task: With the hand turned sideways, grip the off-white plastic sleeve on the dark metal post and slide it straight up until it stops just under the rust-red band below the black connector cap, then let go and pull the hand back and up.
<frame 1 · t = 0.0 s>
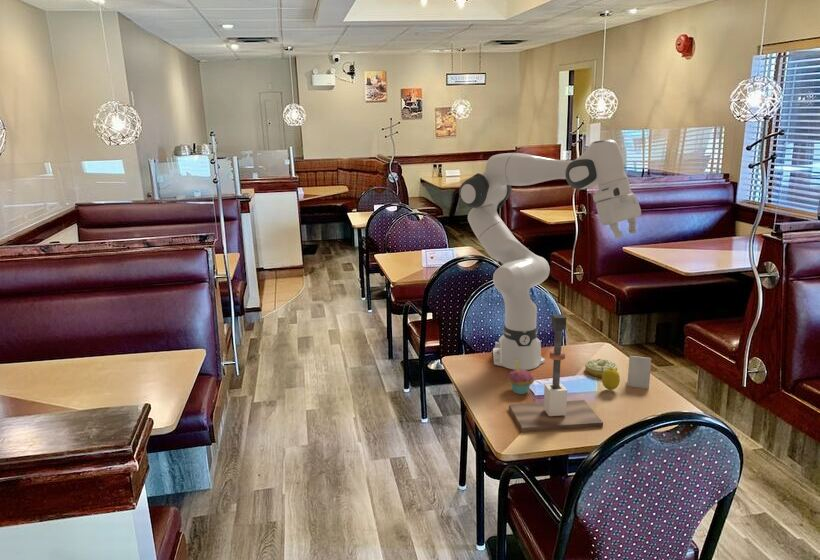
hand: (626, 235, 193), 52 cm above the table, tool tilted 20°, fingers open, 8 cm apart
sleeve: (555, 399, 189), point 6 cm above the table, slide at 0.0 cm
post stand: (554, 417, 190), on the table
grey rectangular block: (638, 385, 212), on the table
lemon: (609, 391, 208), on the table
cupcake: (520, 391, 209), on the table
decorated donut: (600, 373, 223), on the table
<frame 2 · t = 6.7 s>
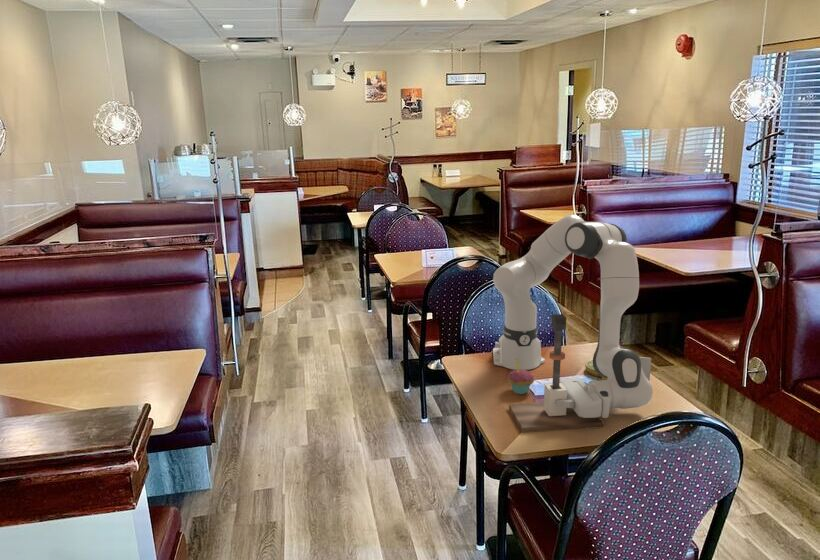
hand: (552, 398, 188), 7 cm above the table, tool horizontal, fingers closed on sleeve, 5 cm apart
sleeve: (555, 399, 189), point 6 cm above the table, slide at 0.0 cm, touching gripper
everything else where it was.
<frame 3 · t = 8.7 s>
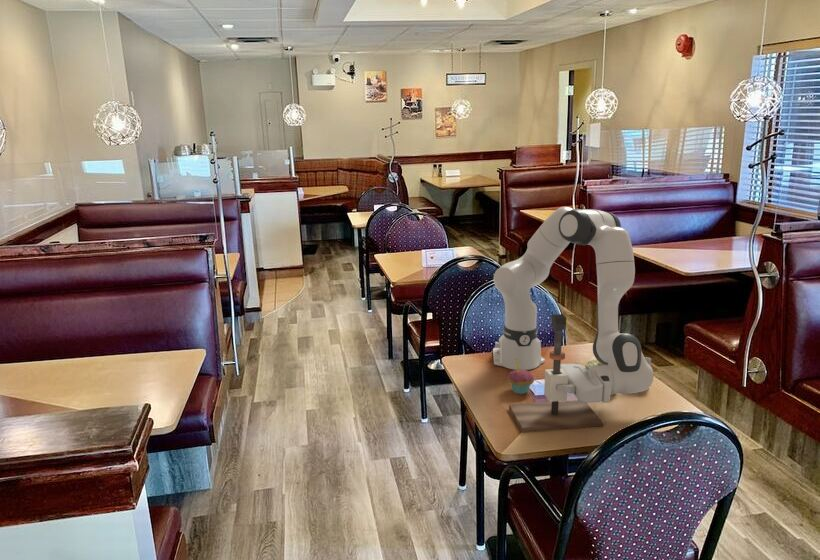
hand: (552, 383, 187), 11 cm above the table, tool horizontal, fingers closed on sleeve, 5 cm apart
sleeve: (555, 384, 187), point 11 cm above the table, slide at 4.7 cm, touching gripper
everything else where it was.
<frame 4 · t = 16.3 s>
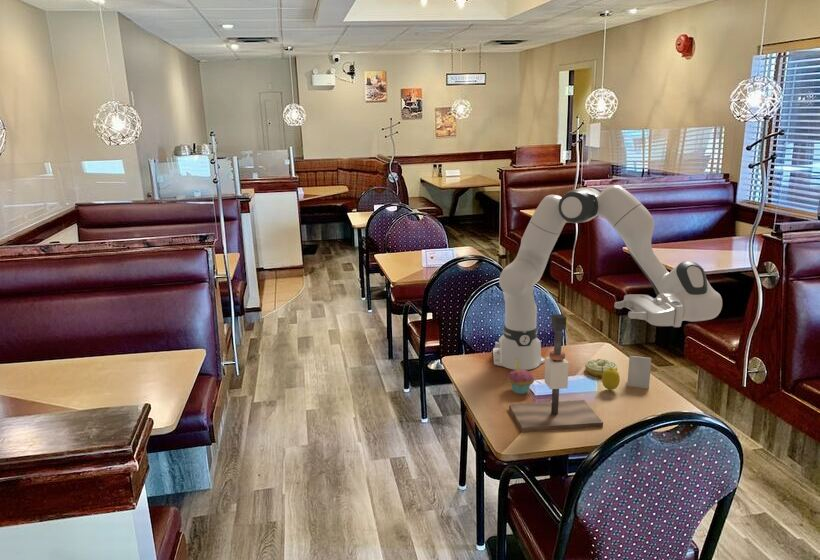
hand: (622, 310, 187), 32 cm above the table, tool horizontal, fingers open, 8 cm apart
sleeve: (556, 372, 186), point 15 cm above the table, slide at 8.6 cm
everything else where it was.
at the end: sleeve slide at 8.6 cm; the gripper is holding nothing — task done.
